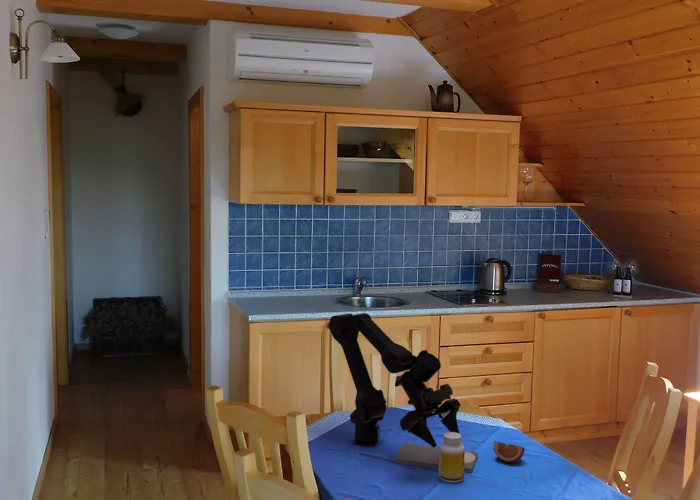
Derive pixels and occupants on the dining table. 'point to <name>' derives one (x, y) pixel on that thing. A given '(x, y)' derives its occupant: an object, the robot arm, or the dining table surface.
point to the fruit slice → (508, 452)
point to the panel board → (429, 456)
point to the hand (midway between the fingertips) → (447, 442)
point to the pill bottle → (451, 458)
